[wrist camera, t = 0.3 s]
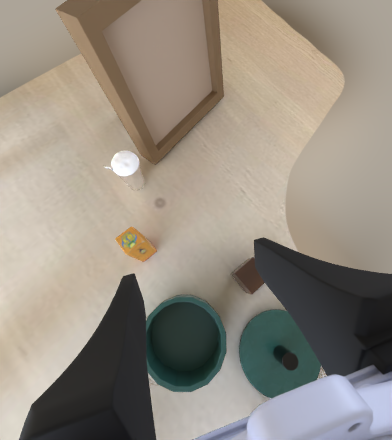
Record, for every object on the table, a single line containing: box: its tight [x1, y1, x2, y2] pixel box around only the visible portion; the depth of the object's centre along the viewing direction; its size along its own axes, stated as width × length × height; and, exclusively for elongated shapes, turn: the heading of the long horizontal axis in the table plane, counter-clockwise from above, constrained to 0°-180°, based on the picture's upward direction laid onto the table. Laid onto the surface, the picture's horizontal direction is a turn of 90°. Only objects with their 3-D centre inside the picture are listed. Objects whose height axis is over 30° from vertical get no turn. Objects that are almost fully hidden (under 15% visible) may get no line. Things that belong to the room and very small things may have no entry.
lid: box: [239, 310, 321, 398], centre depth 36 cm, size 13×13×5 cm
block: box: [231, 257, 265, 294], centre depth 39 cm, size 4×4×4 cm
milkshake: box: [103, 150, 145, 190], centre depth 41 cm, size 4×5×10 cm
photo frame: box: [56, 0, 224, 165], centre depth 38 cm, size 15×22×25 cm
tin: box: [146, 295, 226, 392], centre depth 36 cm, size 12×12×6 cm
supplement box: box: [115, 227, 157, 262], centre depth 38 cm, size 3×3×10 cm
